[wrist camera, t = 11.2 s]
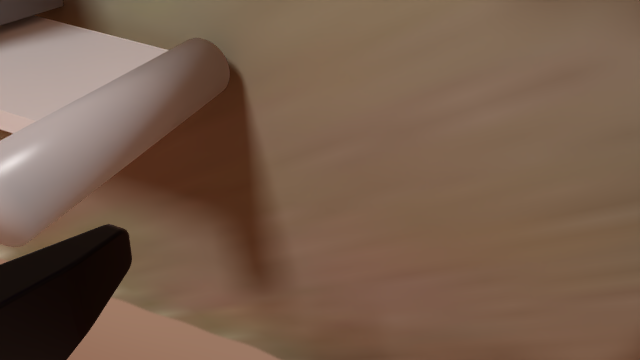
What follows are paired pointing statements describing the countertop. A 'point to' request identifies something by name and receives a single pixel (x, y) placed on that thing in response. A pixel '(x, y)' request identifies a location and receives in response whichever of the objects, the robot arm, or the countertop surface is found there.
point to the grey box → (24, 8)
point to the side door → (86, 112)
